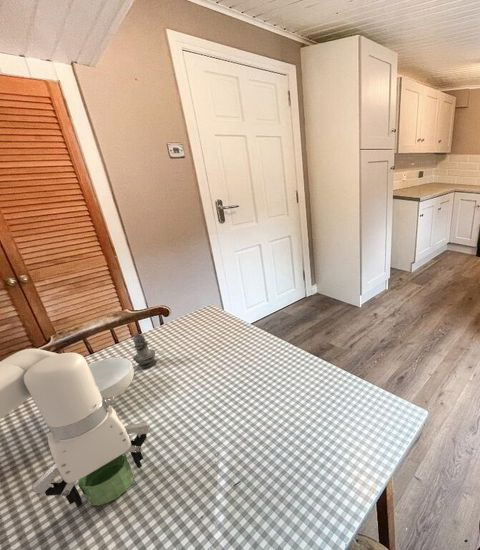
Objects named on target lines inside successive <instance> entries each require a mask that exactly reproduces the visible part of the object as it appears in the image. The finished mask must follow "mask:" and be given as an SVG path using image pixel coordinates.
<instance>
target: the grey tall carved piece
mask: <svg viewBox="0 0 480 550" xmlns="http://www.w3.org/2000/svg"><path fill="white" fill-rule="evenodd" d="M132 340H133V343H134V346H133V348H134V349H135V350H136V354H134V356H133V357H132V359H133V361H135V363H137V370H141V371H142V370H147V368H148V369H151V368H152V367H154V366H155V365H157V363H158V360H157V359H156V358H155V356H156V350H154V349H150V348H149V346H148V345H149V342H148V341H147V340H146V338H145V335H144V334H143V333H139V332H136V333H135V335H134V336H133V337H132Z"/></svg>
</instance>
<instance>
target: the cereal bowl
mask: <svg viewBox="0 0 480 550" xmlns="http://www.w3.org/2000/svg"><path fill="white" fill-rule="evenodd" d="M87 364H88V366H89V369H90V371H91V373H92V376H93V378H94V380H95V383H96V385H97V387H98V389H99V392H100V394H101V396H102V398H109V397H111V396H113V398H114V399H116V398H117V397H119V396H120V395H122V394H123V393H124V392H125V391H126V390H127V389H128V388H129V386H130V385H131V383H132V381H133V380H134V376H135V370H134V369H135V368H134V365H133V363H132V361H131V360H130V359H127V358H124V357H111V358H104V359H101V360H96V361H94V362H90V363H87Z"/></svg>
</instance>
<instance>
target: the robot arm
mask: <svg viewBox="0 0 480 550" xmlns="http://www.w3.org/2000/svg"><path fill="white" fill-rule="evenodd" d="M88 364H89V363H88V361H87V360H86V358H85V357H84V355H81V354H80V353H77V352H62V353H57V352H53V351H49V350H45V349H42V348H41V349H40V348H25V349H22V350H19V351H17V352H15V353H13V354H11V355H9V356H8V357H6V358H4V359H2V360H0V420H2V419H3V418H4V417H6V416H7V415H8V414H10V413H11V412H13V411H14V410H15V409H16V408H18V407H20V406H21V405H22V404H23V403H25V402H26V401H28V400H29V399H31V398H32V400H33V402H34V404H35V406H36V407H37V409H38V411H39V413H40V415H41V416H42V419H43V420H44V423H45V424H46V426H47V428H48V429H49V431H50V432H49V433H48V434H47V443H48V447H49V450H50V453H51V456H52V458H53V461H54V464H53V465H52V466H51V467H50V468H49V469H48V470H47V471H45V473H43V475H41V476H40V477H39V478H38V479H37V480H36V481H35V482H34V483H33V484H32V486H31V489H32V492H33V493H35V494H40V495H45V496H47V497H51V496H61V497H64V498H66V500H67V502H68V503H69V505H73V504H74V503H75V505H76V507H77V508H79V507H81V506H82V505H83V501H82V497H81V495H80V493H79V490H78V488H77V487H76V485H75V484H76V483H77V481H78V480H79V479H81V478H83V477H85V476H86V475H88V474H90V473H92V472H93V471H95V470H97V469H98V468H100V467H102V466H103V465H105V464H107V463H108V462H110V461H112V460H113V459H115V458H117V457H118V456H120V455H122V454H123V453H124V454H125V453H130V455H131V457H132V458H131V459H132V460H133V462H134V464H135V465H136V467H137V469H140V468H143V465H142V462H141V461H142V460H144V457H143V453H142V452H141V451H142V446H143V444H144V443H145V441H146V439H147V438H148V436H147V434H148V433H149V429H150V424H149V423H148V422H147V421H144V422H138V423H134V424H133V423H132V424H129V425H124V423H123V421H122V419H121V418H120V416H119V414H118V412H116V410H115V409H114V408H113V407H112V406H111V405H112V404H114V403H116V400H115V398H113V396H111V397H109V398H102V396H101V394H100V392H99V389H98V387H97V385H96V383H95V380H94V378H93V376H92V373H91V371H90V369H89V366H88ZM136 433H137V435H136V436H135V438H130V436H129V435H131V434H136ZM59 474H60V476H61V479H60V481H59V482H52V481H53V480H54V479H55V478H56V477H57V476H58V475H59Z"/></svg>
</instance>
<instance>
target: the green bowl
mask: <svg viewBox="0 0 480 550" xmlns="http://www.w3.org/2000/svg"><path fill="white" fill-rule="evenodd" d="M134 477H135V474H134V471H133V468H132V466H131V463H130V460H129V458H128V456H127V454H125V453H123V454H122V455H120V456H118V457H117V458H115V459H113V460H112V461H110V462H108V463H107V464H105V465H103V466H102V467H100V468H98V469H97V470H95V471H93V472H92V473H90V474H88V475H86V476H85V477H83V478H81V479H79V480H77V481H78V482H77V483H78V486H79V488H80V490H81V492H82V494H83V496H84V498H85V500H86V501H87V503H88V504H90V505H91V506H102V505H105V504H108V503H111V502H113V501H114V500H116V499H117V498H119V497H120V496H121V495H122V494H124V493H125V492H126V491H127V490H128V489H129V487H130V486H131V485H132V483H133V480H134Z"/></svg>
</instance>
